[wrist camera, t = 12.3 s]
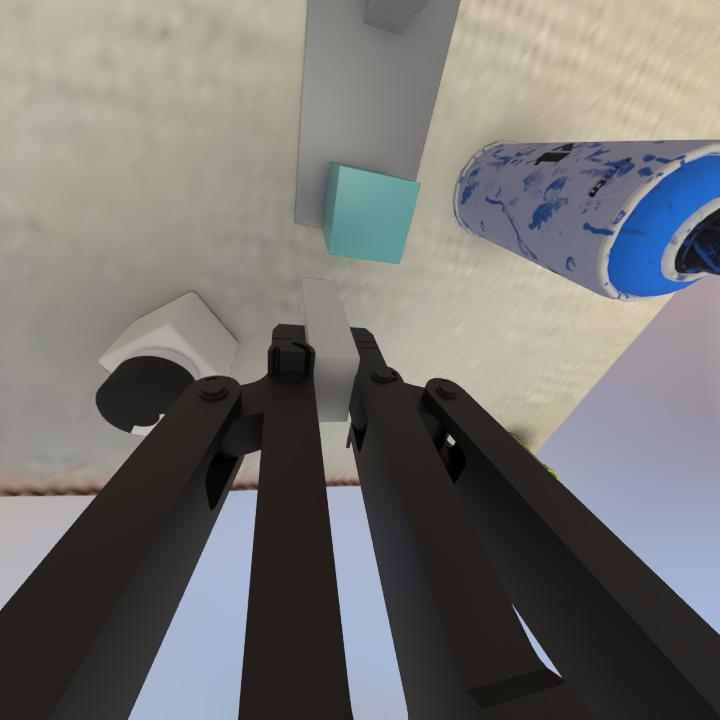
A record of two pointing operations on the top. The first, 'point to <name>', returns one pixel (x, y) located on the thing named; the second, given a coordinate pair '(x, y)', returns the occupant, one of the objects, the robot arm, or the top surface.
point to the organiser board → (366, 94)
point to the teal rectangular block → (367, 213)
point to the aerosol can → (600, 210)
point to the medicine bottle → (162, 362)
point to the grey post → (392, 13)
